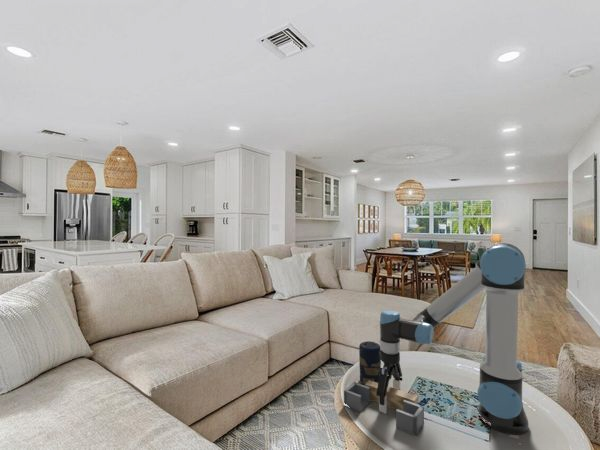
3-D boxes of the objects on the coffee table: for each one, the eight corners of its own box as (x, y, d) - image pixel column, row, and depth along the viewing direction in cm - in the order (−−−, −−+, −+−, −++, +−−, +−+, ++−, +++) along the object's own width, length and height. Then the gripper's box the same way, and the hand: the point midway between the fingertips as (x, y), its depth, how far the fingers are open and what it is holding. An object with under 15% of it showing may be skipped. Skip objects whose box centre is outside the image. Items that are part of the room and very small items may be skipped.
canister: (381, 388, 134) (381, 347, 134) (359, 386, 136) (359, 345, 135) (380, 377, 143) (380, 339, 143) (359, 375, 145) (359, 337, 145)
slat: (417, 411, 118) (417, 396, 117) (414, 416, 114) (414, 400, 114) (369, 394, 130) (369, 380, 130) (365, 398, 127) (364, 384, 126)
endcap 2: (423, 423, 110) (423, 406, 110) (416, 436, 104) (416, 418, 104) (404, 415, 115) (404, 399, 115) (396, 427, 108) (395, 410, 108)
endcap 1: (344, 405, 121) (343, 390, 121) (354, 396, 128) (354, 382, 128) (360, 412, 117) (359, 396, 117) (369, 402, 123) (369, 387, 123)
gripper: (392, 338, 134) (392, 387, 134) (367, 359, 114) (367, 415, 115) (410, 343, 129) (410, 393, 130) (386, 364, 110) (386, 423, 110)
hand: (389, 403), depth 122 cm, fingers open, 13 cm apart
